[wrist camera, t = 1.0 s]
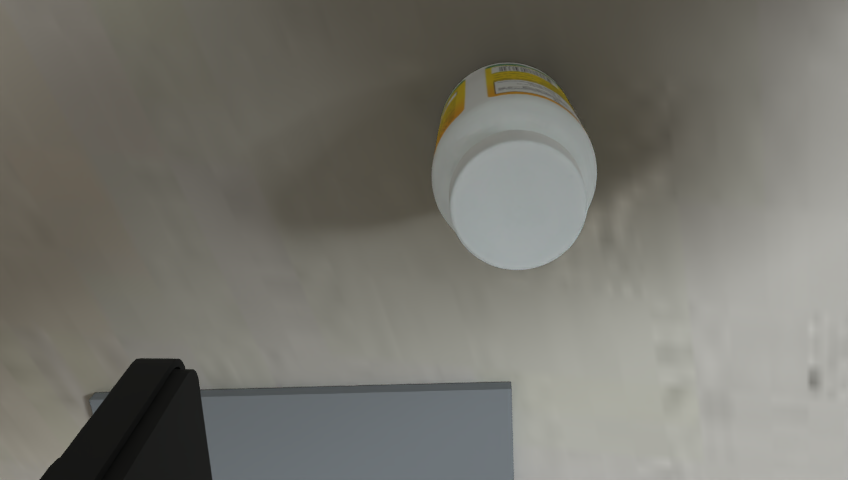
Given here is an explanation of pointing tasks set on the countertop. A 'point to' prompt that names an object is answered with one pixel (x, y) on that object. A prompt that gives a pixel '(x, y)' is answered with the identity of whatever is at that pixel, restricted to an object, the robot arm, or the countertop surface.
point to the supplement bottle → (513, 167)
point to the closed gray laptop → (359, 432)
